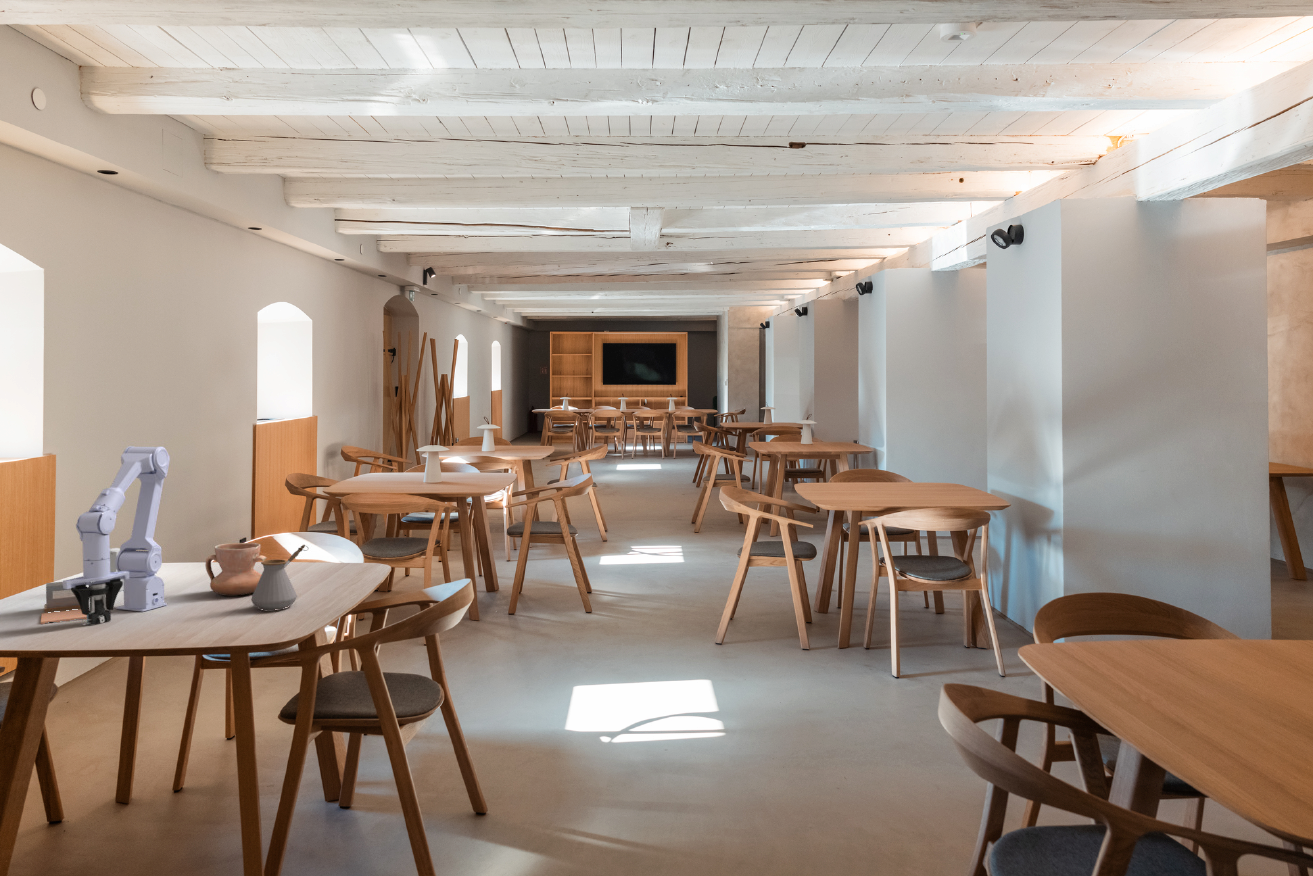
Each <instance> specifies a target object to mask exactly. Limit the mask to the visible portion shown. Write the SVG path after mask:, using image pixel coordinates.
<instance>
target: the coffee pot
mask: <svg viewBox="0 0 1313 876" xmlns="http://www.w3.org/2000/svg"><path fill="white" fill-rule="evenodd" d="M305 547H306V548H307V549H306V550H305ZM308 550H309V546H308V545H305V544H302V545H301V546H300V547H298V549H297V550H295V551H294V552H293V554H292V555H291V556H290V557H289V558H288V560H286V559H267V560H266V559H265V560H264V561H261V562H260V563H261V564H260V565H262V566H263V571H262V574H261V577H260V580H259V582H258V584H257V587H256V589H255V591H254V592H253V593H252V596H251V597H250V599H251V603H252V605H253V606H254V607H255V608H258V610H259V609H263V610H275V609H283V608H285V607H288V606H291V605H293V604H294V603H295V601H296V600H297V598H298V594H297V592H296V590H295V588H294V587H293V584H292V582H291V580H290V578H289V575H288V574H287V572H286V569H285V568H286V567H287V566H288V565H289V564H290V563H291V562H293V561H294V560H295V558H297V557H298V556H299V554H300V552H302V551H304V552H305V551H308ZM283 610H284V609H283Z"/></svg>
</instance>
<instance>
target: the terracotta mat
mask: <svg viewBox="0 0 1313 876" xmlns="http://www.w3.org/2000/svg"><path fill="white" fill-rule="evenodd" d="M86 618H87V615H84V614H82V611H81V609H78V610H69V611H60V612H51V613H44V612H43V613H41V618H40V625H46V624H45V623H48V622H57V623H61V622H60V621H66V622H71V621H70V620H74V619H83V620H86ZM74 621H75V620H74Z"/></svg>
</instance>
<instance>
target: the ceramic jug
mask: <svg viewBox="0 0 1313 876" xmlns="http://www.w3.org/2000/svg"><path fill="white" fill-rule="evenodd" d="M260 553H261V544H260V543H256V542H237V543H236V542H234V543H233V542H232V543H222V544H221V543H220V544H218V545H217V544H216V545H215V546H214V554H212V555H209V556H208V557H207V558H206V560H205V563H204V564H205V565H204V566H205V571H206V573H207V575H208V577H209V579H210V583H209V587H210V589H211V591H212V592H214V593H216V594H219V595H222V596H227V597H231V596H232V597H233V596H234V597H237V596H238V595H239V596H245V594H246V595H250V594H253V593H254V591H255V589H256V587H257V584H258V582H259V580H260V577H261V575H262V574H261V573H260V572H258V571H256V570H255V569H254V567H255V565H256V563H257V562H259V561H261V562H263V561H266V559H267V556H265V555H260ZM212 561H215V562H217V563H218V565H219V567H220V569H221V572H219V574H217V575H216V576H215V574H214V571H213V568H212ZM239 596H238V597H239Z"/></svg>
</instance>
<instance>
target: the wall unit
mask: <svg viewBox="0 0 1313 876" xmlns="http://www.w3.org/2000/svg"><path fill="white" fill-rule="evenodd" d="M45 597H46V599H45V601H46V604H45V603H44V606H43V607H44V608H43V613H48V612H54V611H66V610H72V609H81V608H80V605H79V602H78V600H77V598H76V597H75V595H74V594H73V592H72V591H71V589H64V588H63V581H57V582H55V581H54V582H47V583H45Z"/></svg>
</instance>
